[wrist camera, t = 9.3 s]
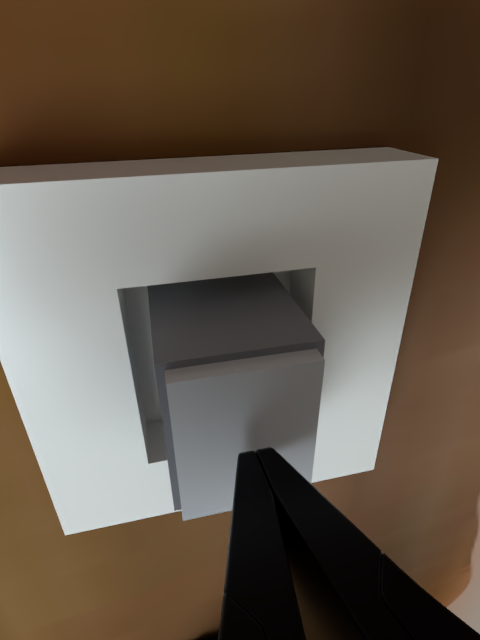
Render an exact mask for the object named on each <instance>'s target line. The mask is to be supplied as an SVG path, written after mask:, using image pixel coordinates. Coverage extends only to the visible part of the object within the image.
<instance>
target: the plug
mask: <svg viewBox="0 0 480 640" xmlns="http://www.w3.org/2000/svg"><path fill="white" fill-rule="evenodd" d="M147 289H148V300H149V311H150V323H151V334H152V345H153V357H154V367H155V374H156V381H157V388H158V396H159V403H160V410H161V417H162V425H163V432H164V439H165V446H166V454H167V461H168V468H169V475H170V482H171V490H172V497H173V504H174V511H176V510H181V509H182V517H183V521H184V520H189V519H194V518H198V517H203V516H208V515H212V514H217V513H222V512H226V511H231V510H232V507H233V497H234V488H235V478H236V468H237V458H238V454H239V453H241V452H246V451H251V450H253V451H256V450H257V449H262V448H267V447H272V448H274V449H275V450H276V451H277V452H278V453H279V454H280V455H281V456H282V457H283V458H284V459H285V460H286V461H287V462H288V463H290V464H291V465H292V466H293V467H294V468H295V469H296V470H297V471H298V472H299V473H300V474H301V475H302V476H303V477H304V478H305V479H306V480H307V481H308V482H310V483H311V482H312V473H313V464H314V455H315V446H316V437H317V428H318V419H319V410H320V401H321V392H322V384H323V375H324V366H325V359H324V358H323V357H324V348H325V339H324V338H323V337H322V335H321V334H320V333H319V331H318V330H317V329H316V328H315V326H314V325H313V324H312V322H311V321H310V320H309V319H308V317H307V316H306V315H305V313H304V312H303V311H302V309H301V308H300V307H299V306H298V304H297V303H296V302H295V300H294V299H293V298H292V297H291V295H290V294H289V293H288V291H287V290H286V289H285V287H284V286H283V285H282V284H281V282H280V281H279V280H278V278H277V277H276V276H275V274H274V273H273V272H270V273H261V274H251V275H242V276H233V277H224V278H215V279H205V280H196V281H187V282H178V283H169V284H159V285H150V286H147Z"/></svg>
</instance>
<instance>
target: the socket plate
mask: <svg viewBox="0 0 480 640" xmlns="http://www.w3.org/2000/svg"><path fill="white" fill-rule="evenodd" d="M438 160H439V159H438V158H434V157H429V156H425V155H421V154H416V153H412V152H408V151H404V150H399V149H395V148H391V147H379V148H360V149H341V150H321V151H302V152H283V153H263V154H244V155H224V156H205V157H186V158H166V159H147V160H128V161H108V162H89V163H69V164H50V165H31V166H11V167H0V361H1V364H2V366H3V369H4V372H5V374H6V377H7V380H8V383H9V385H10V388H11V391H12V393H13V396H14V399H15V401H16V404H17V407H18V409H19V412H20V415H21V418H22V420H23V423H24V426H25V428H26V431H27V434H28V436H29V439H30V442H31V445H32V447H33V450H34V453H35V455H36V458H37V461H38V463H39V466H40V469H41V472H42V474H43V477H44V480H45V482H46V485H47V488H48V490H49V493H50V496H51V498H52V501H53V504H54V507H55V509H56V512H57V515H58V517H59V520H60V523H61V525H62V528H63V531H64V534H65V535H69V534H74V533H78V532H83V531H88V530H92V529H97V528H102V527H107V526H111V525H116V524H121V523H125V522H130V521H135V520H139V519H144V518H149V517H153V516H158V515H163V514H167V513H172V512H177V511H182V509H181V510H176V511H174V504H173V497H172V490H171V482H170V475H169V468H168V461H167V454H166V446H165V439H164V432H163V425H162V417H161V410H160V403H159V396H158V388H157V381H156V374H155V367H154V357H153V345H152V334H151V323H150V311H149V300H148V289H147V286H150V285H159V284H169V283H178V282H187V281H196V280H205V279H215V278H224V277H233V276H242V275H251V274H261V273H270V272H273V273H274V274H275V276H276V277H277V278H278V280H279V281H280V282H281V284H282V285H283V286H284V287H285V289H286V290H287V291H288V293H289V294H290V295H291V297H292V298H293V299H294V300H295V302H296V303H297V304H298V306H299V307H300V308H301V309H302V311H303V312H304V313H305V315H306V316H307V317H308V319H309V320H310V321H311V322H312V324H313V325H314V326H315V328H316V329H317V330H318V331H319V333H320V334H321V335H322V337H323V338H324V339H325V348H324V357H323V358H324V359H325V366H324V375H323V384H322V392H321V401H320V410H319V419H318V428H317V437H316V446H315V455H314V464H313V473H312V482H311V483H313V482H317V481H322V480H327V479H331V478H336V477H341V476H346V475H350V474H355V473H360V472H364V471H369V470H374V465H375V460H376V456H377V451H378V446H379V441H380V437H381V432H382V427H383V422H384V417H385V413H386V408H387V403H388V398H389V394H390V389H391V384H392V379H393V374H394V370H395V365H396V360H397V355H398V351H399V346H400V341H401V336H402V331H403V327H404V322H405V317H406V312H407V308H408V303H409V298H410V293H411V289H412V284H413V279H414V274H415V269H416V265H417V260H418V255H419V250H420V246H421V241H422V236H423V231H424V226H425V222H426V217H427V212H428V207H429V203H430V198H431V193H432V188H433V183H434V179H435V174H436V169H437V164H438Z"/></svg>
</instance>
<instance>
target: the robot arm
mask: <svg viewBox="0 0 480 640" xmlns="http://www.w3.org/2000/svg"><path fill="white" fill-rule="evenodd" d="M211 640H480V634H479V633H477V632H476V631H475V630H474V629H472V628H471V627H470V626H469V625H467V624H466V623H465V622H463V621H462V620H461V619H460V618H458V617H457V616H456V615H455V614H453V613H452V612H451V611H450V610H448V609H447V608H446V607H445V606H443V605H442V604H441V603H440V602H438V601H437V600H436V599H435V598H434V597H432V596H431V595H430V594H429V593H427V592H426V591H425V590H424V589H423V588H421V587H420V586H419V585H418V584H417V583H416V582H415V581H414V580H412V579H411V578H410V577H409V576H408V575H407V574H406V573H405V572H404V571H403V570H401V569H400V568H399V567H398V566H397V565H396V564H395V563H394V562H393V561H392V560H391V559H390V558H389V557H388V556H387V555H386V554H384V553H382V555H381V550H380V549H379V548H378V547H377V546H376V545H375V544H374V543H373V542H372V541H371V540H370V539H369V538H367V537H366V536H365V535H364V534H363V533H362V532H361V531H360V530H359V529H358V528H357V527H356V526H355V525H354V524H353V523H352V522H351V521H350V520H349V519H347V518H346V517H345V516H344V515H343V514H342V513H341V512H340V511H339V510H338V509H337V508H336V507H335V506H334V505H333V504H332V503H331V502H330V501H329V500H327V499H326V498H325V497H324V496H323V495H322V494H321V493H320V492H319V491H318V490H317V489H316V488H315V487H314V486H313V485H312V484H311V483H310V482H308V481H307V480H306V479H305V478H304V477H303V476H302V475H301V474H300V473H299V472H298V471H297V470H296V469H295V468H294V467H293V466H292V465H291V464H290V463H288V462H287V461H286V460H285V459H284V458H283V457H282V456H281V455H280V454H279V453H278V452H277V451H276V450H275V449H274V448H272V447H267V448H262V449H257V450H256V451H253V450H251V451H246V452H241V453H239V454H238V458H237V468H236V478H235V488H234V497H233V507H232V517H231V527H230V537H229V546H228V556H227V566H226V576H225V585H224V595H223V603H222V613H221V621H220V628H219V636H218V638H215V639H211Z"/></svg>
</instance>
